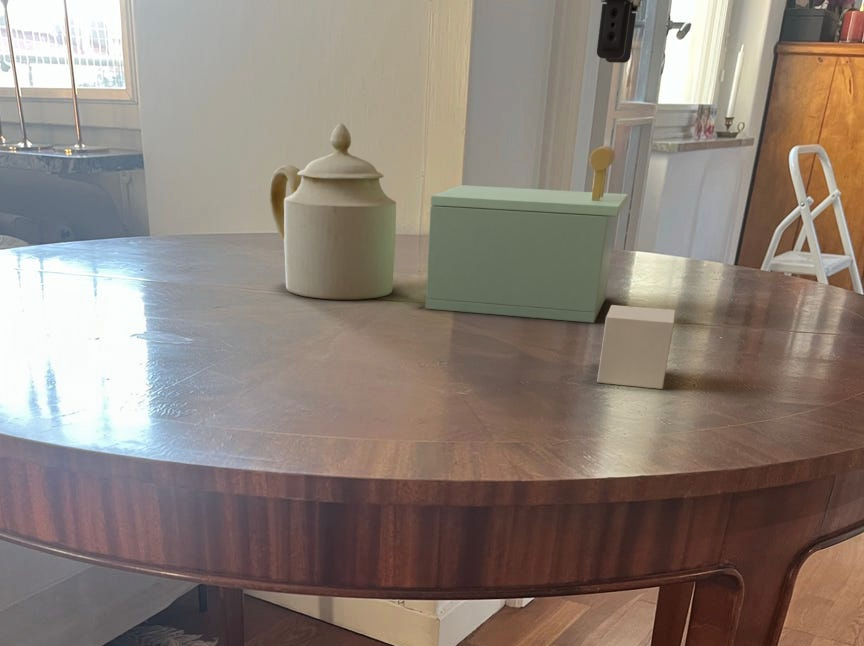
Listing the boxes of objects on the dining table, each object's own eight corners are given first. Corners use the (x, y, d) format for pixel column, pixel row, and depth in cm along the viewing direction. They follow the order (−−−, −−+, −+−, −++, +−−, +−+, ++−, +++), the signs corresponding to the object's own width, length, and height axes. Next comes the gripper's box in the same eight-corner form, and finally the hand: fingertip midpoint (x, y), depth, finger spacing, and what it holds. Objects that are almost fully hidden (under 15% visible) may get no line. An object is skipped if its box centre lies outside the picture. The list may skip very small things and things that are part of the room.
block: (664, 373, 71) (675, 309, 69) (662, 389, 67) (674, 322, 65) (602, 367, 72) (611, 304, 70) (596, 382, 68) (606, 316, 66)
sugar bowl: (232, 290, 95) (223, 120, 88) (278, 274, 104) (274, 118, 97) (372, 304, 91) (375, 126, 84) (407, 286, 100) (413, 124, 93)
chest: (605, 298, 97) (618, 203, 93) (593, 323, 86) (608, 216, 82) (454, 286, 101) (460, 194, 96) (425, 308, 90) (430, 206, 86)
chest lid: (626, 203, 93) (635, 145, 90) (617, 216, 82) (626, 151, 79) (460, 193, 96) (463, 137, 94) (430, 205, 86) (433, 142, 83)
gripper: (694, -212, 67) (655, 58, 75) (694, -165, 79) (660, 64, 87) (587, -208, 69) (559, 56, 77) (603, -162, 80) (578, 62, 89)
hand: (613, 60), depth 82 cm, fingers open, 8 cm apart
